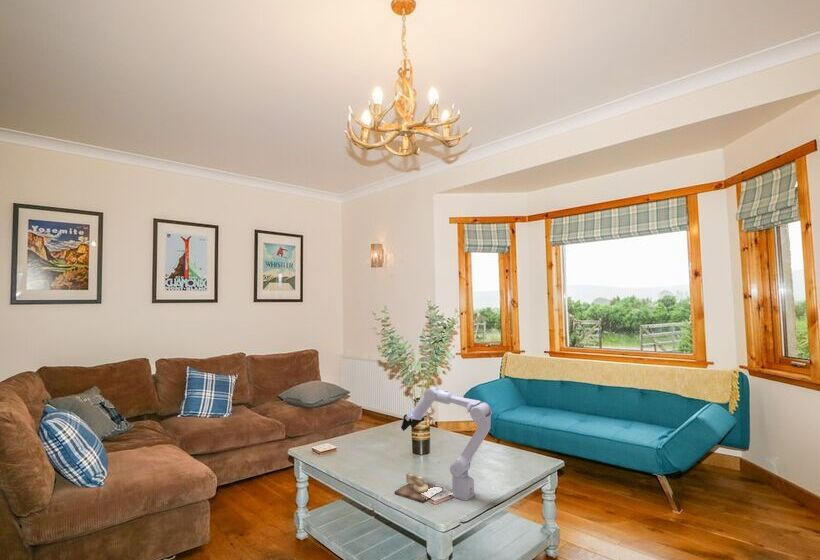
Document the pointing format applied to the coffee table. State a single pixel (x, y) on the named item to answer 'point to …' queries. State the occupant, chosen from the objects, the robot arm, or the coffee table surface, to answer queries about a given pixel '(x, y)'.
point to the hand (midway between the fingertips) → (407, 427)
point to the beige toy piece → (417, 483)
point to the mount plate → (412, 492)
